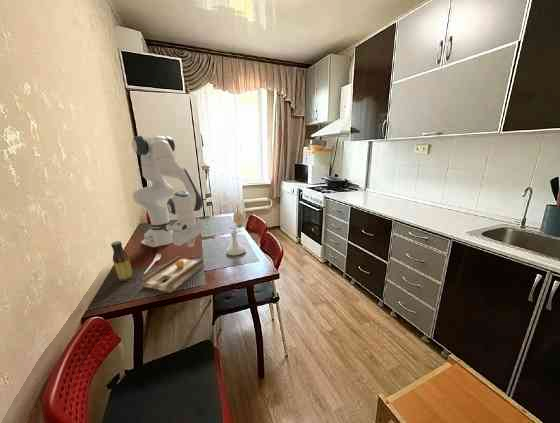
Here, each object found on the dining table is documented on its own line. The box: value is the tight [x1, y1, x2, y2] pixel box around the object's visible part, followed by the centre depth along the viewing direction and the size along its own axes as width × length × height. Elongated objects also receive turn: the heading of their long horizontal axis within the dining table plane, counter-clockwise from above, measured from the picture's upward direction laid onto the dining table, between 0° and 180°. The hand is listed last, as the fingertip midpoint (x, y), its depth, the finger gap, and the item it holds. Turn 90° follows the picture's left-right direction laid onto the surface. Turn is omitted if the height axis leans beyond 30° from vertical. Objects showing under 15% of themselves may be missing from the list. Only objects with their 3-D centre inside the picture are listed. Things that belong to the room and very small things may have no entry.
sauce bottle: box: [110, 240, 134, 282], centre depth 114 cm, size 7×6×20 cm
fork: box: [143, 253, 162, 275], centre depth 130 cm, size 3×20×2 cm, turn 6°
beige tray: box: [141, 255, 205, 293], centre depth 117 cm, size 16×24×4 cm, turn 161°
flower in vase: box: [225, 211, 246, 256], centre depth 136 cm, size 13×11×25 cm
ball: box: [176, 260, 184, 268], centre depth 119 cm, size 4×4×4 cm
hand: (191, 246), depth 126 cm, fingers closed
